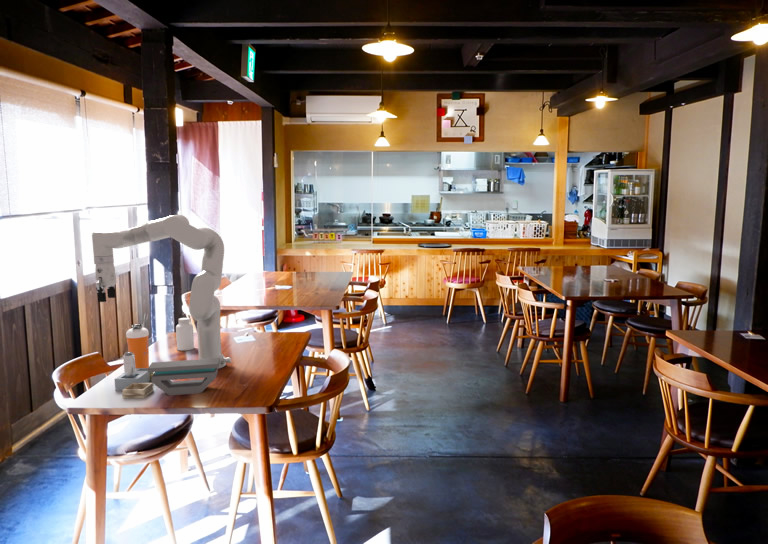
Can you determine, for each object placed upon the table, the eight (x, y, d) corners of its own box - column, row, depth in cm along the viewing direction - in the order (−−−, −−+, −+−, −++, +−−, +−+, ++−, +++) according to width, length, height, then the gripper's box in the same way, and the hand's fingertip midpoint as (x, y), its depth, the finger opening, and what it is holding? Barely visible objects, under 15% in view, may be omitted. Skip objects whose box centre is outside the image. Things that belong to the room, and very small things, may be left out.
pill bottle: (197, 348, 287) (196, 317, 285) (184, 351, 281) (182, 321, 279) (187, 346, 292) (185, 316, 290) (173, 349, 285) (171, 319, 283)
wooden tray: (153, 390, 225) (152, 382, 224) (144, 397, 217) (143, 389, 217) (132, 390, 225) (132, 383, 225) (122, 397, 217) (122, 389, 217)
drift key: (168, 378, 239) (167, 371, 239) (164, 381, 235) (163, 373, 235) (149, 378, 239) (149, 371, 239) (145, 381, 236) (145, 374, 235)
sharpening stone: (149, 396, 218) (147, 368, 217) (154, 390, 226) (152, 362, 224) (219, 391, 222) (217, 363, 221) (221, 385, 230) (219, 358, 229)
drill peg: (138, 385, 231) (136, 351, 229) (134, 388, 227) (131, 354, 226) (128, 385, 231) (125, 351, 230) (123, 388, 227) (121, 354, 226)
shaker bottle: (129, 376, 244) (126, 328, 241) (127, 370, 252) (124, 324, 249) (152, 372, 248) (149, 326, 245) (150, 367, 256) (147, 322, 253)
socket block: (153, 378, 239) (152, 368, 239) (138, 390, 226) (137, 378, 225) (131, 378, 240) (131, 368, 239) (115, 390, 226) (114, 379, 225)
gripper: (104, 262, 241) (107, 303, 244) (120, 257, 259) (124, 296, 261) (85, 262, 241) (89, 303, 243) (103, 258, 258) (106, 296, 260)
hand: (107, 299), depth 252 cm, fingers open, 9 cm apart
